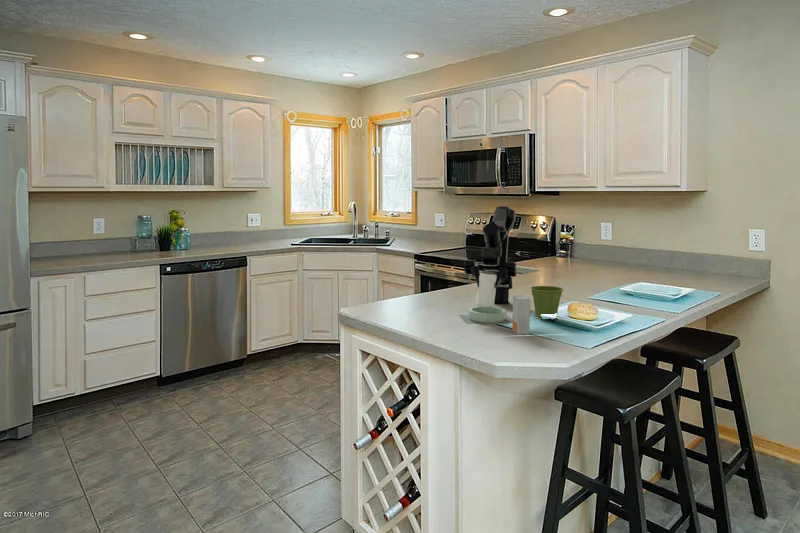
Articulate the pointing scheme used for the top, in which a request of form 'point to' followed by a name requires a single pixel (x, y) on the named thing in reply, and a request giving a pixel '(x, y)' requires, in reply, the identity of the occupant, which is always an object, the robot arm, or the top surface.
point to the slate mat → (468, 321)
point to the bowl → (487, 314)
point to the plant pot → (546, 299)
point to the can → (486, 289)
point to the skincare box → (521, 314)
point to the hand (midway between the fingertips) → (486, 287)
